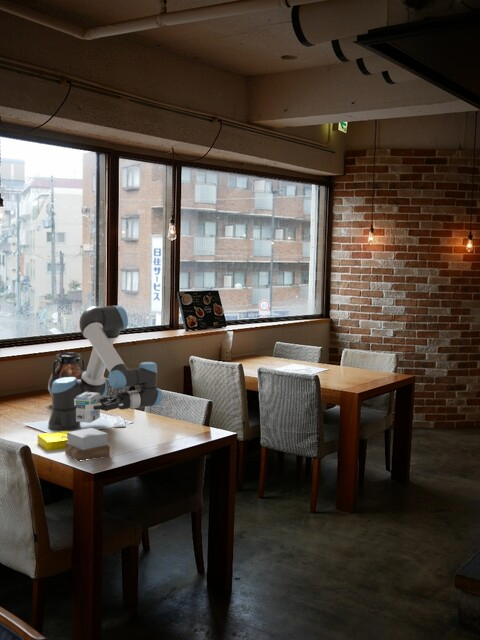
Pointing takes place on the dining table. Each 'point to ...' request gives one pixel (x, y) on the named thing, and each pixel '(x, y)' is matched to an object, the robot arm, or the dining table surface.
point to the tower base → (87, 452)
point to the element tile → (53, 440)
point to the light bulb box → (80, 407)
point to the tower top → (87, 438)
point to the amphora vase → (66, 368)
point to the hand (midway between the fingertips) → (79, 405)
